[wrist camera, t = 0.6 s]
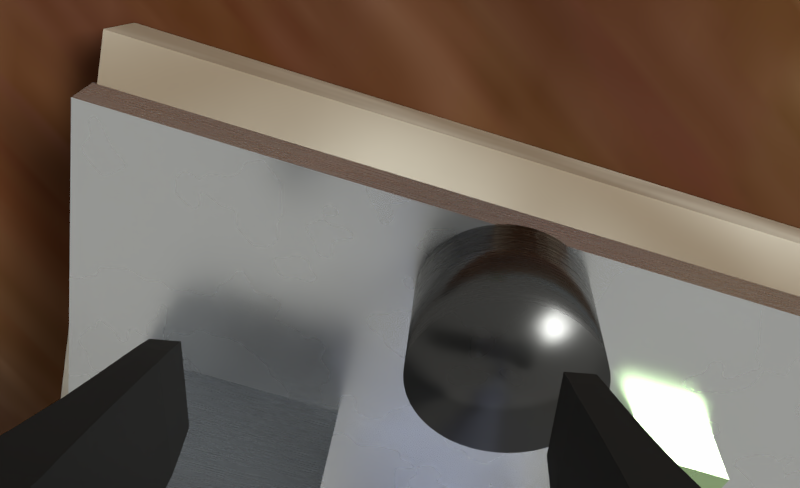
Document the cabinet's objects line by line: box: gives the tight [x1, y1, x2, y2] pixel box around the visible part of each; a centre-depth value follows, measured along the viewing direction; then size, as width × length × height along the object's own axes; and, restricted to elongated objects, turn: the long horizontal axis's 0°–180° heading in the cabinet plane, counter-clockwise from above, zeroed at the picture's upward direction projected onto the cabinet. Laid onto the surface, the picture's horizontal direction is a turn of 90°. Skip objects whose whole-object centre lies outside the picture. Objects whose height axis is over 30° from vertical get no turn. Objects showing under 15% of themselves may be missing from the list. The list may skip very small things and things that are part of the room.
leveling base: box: [61, 23, 800, 398], centre depth 23 cm, size 15×24×2 cm, turn 73°
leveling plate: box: [68, 83, 800, 488], centre depth 18 cm, size 14×22×5 cm, turn 74°
